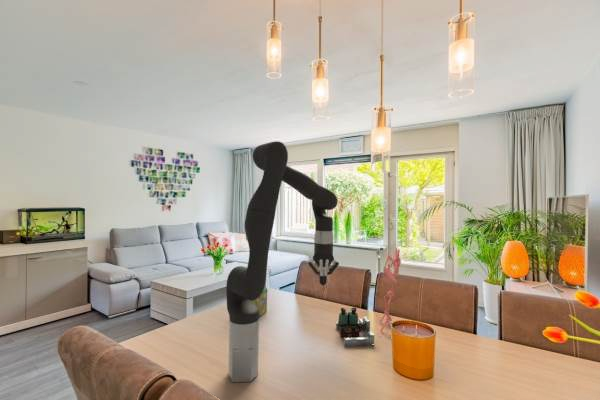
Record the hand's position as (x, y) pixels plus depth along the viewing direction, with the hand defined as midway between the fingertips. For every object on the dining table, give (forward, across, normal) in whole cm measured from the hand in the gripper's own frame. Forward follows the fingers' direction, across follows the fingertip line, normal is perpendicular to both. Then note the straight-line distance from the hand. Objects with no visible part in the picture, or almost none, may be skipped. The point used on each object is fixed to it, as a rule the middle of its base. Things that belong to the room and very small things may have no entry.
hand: (322, 284), depth 120 cm
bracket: (+21, +12, 0) cm, 24 cm away
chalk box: (+21, -29, +26) cm, 44 cm away
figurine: (+21, +33, +6) cm, 40 cm away
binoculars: (+21, +12, +1) cm, 24 cm away
